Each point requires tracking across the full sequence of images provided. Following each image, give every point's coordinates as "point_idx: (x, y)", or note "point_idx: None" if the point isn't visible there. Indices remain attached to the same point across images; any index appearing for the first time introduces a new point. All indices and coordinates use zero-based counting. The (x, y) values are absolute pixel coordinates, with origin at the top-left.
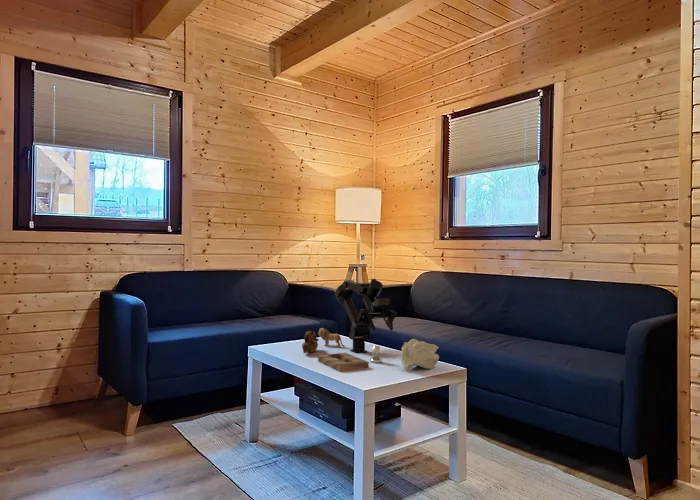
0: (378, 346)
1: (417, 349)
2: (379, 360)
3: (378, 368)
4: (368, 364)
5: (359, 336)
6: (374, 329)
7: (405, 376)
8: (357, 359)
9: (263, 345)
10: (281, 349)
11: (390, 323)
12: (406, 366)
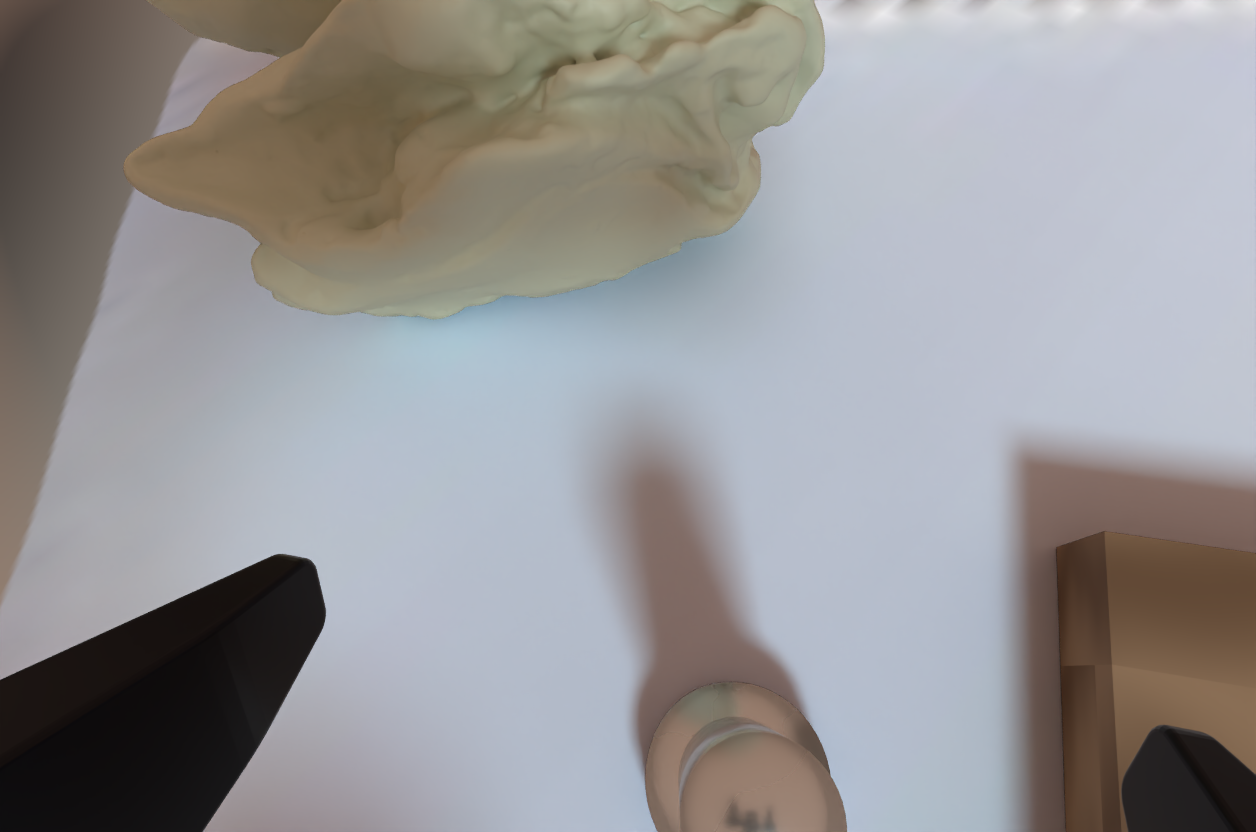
0: (719, 792)
1: None
2: (737, 687)
3: (933, 466)
4: (1084, 538)
5: None
6: (1199, 755)
7: (869, 92)
8: None
9: None
10: None
11: (23, 785)
12: (752, 146)
